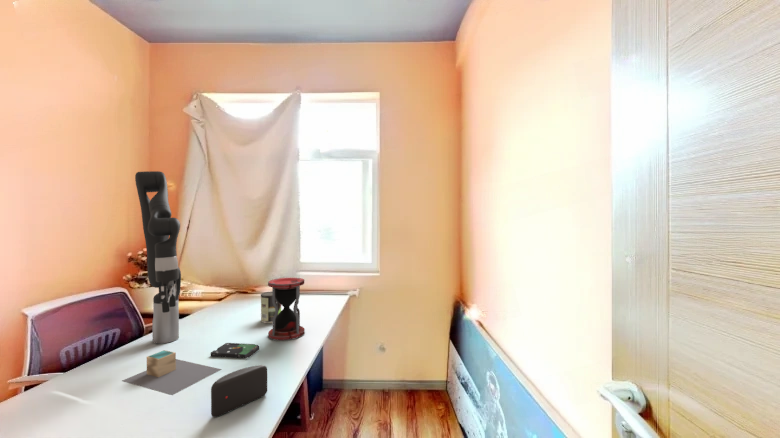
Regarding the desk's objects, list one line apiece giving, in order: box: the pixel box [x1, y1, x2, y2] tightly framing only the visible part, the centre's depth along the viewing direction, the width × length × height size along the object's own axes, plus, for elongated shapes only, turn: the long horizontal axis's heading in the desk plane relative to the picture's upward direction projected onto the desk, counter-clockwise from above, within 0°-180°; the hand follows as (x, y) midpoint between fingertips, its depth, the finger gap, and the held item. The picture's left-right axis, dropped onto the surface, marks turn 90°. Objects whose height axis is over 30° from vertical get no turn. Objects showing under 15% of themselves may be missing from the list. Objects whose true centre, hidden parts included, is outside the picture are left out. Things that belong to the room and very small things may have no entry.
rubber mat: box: [121, 358, 222, 396], centre depth 113 cm, size 24×18×1 cm
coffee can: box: [260, 291, 282, 324], centre depth 174 cm, size 10×10×14 cm
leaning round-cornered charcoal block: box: [210, 364, 268, 418], centre depth 97 cm, size 16×5×9 cm, turn 140°
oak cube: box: [146, 350, 177, 377], centre depth 115 cm, size 6×6×6 cm
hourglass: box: [267, 277, 306, 341], centre depth 153 cm, size 16×16×25 cm
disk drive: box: [210, 342, 260, 361], centre depth 132 cm, size 10×3×15 cm
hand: (169, 309), depth 131 cm, fingers open, 8 cm apart
